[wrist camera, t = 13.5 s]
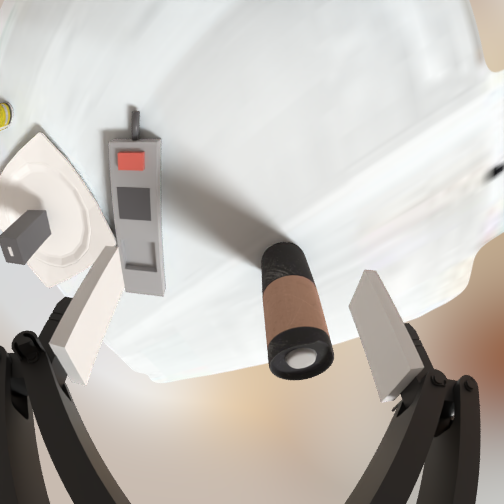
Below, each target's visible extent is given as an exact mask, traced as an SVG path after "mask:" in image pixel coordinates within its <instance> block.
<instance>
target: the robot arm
mask: <svg viewBox="0 0 504 504" xmlns="http://www.w3.org/2000/svg"><path fill="white" fill-rule="evenodd" d="M124 288H125V285H124V280H123V274H122V268H121V262H120V255H119V248H118V247H113V246H105V247H104V249H103V250H102V252H101V253H100V255H99V256H98V258H97V259H96V261H95V262H94V264H93V266H92V267H91V269H90V270H89V272H88V274H87V275H86V277H85V279H84V280H83V282H82V283H81V285H80V287H79V288H78V290H77V292H76V294H75V295H74V297H73V298H69V297H64V298H63V299H62V300H61V301H60V302H58V303H57V305H56V307H55V308H54V310H53V313H52V314H51V315H50V317H49V320H48V321H47V322H46V324H45V326H44V328H43V330H42V331H41V334H40V335H39V337H37V335H36V334H35V333H34V332H32V331H23V332H21V333H19V334H18V335H17V336H16V337H15V338H14V339H13V342H12V350H13V351H14V353H7V352H6V351H5V349H4V348H3V347H2V346H0V504H50V502H49V498H48V495H47V491H46V487H45V483H44V479H43V475H42V471H41V465H40V461H39V455H38V449H37V443H36V436H35V428H34V419H33V412H34V415H35V418H36V420H37V424H38V426H39V429H40V432H41V435H42V437H43V440H44V442H45V445H46V447H47V450H48V452H49V454H50V457H51V459H52V461H53V463H54V466H55V468H56V470H57V472H58V474H59V476H60V478H61V480H62V482H63V484H64V486H65V488H66V490H67V492H68V493H69V495H70V497H71V499H72V501H73V503H74V504H131V503H130V502H129V500H128V499H127V497H126V496H125V494H124V493H123V492H122V490H121V489H120V487H119V486H118V484H117V483H116V481H115V480H114V478H113V476H112V475H111V473H110V471H109V470H108V468H107V466H106V465H105V463H104V461H103V460H102V458H101V456H100V455H99V453H98V451H97V449H96V447H95V445H94V443H93V442H92V440H91V438H90V436H89V434H88V432H87V430H86V428H85V426H84V424H83V421H82V420H81V417H80V415H79V413H78V411H77V408H76V406H75V404H74V402H73V399H72V397H71V395H70V392H69V389H68V387H67V385H66V383H65V380H66V377H67V375H68V377H69V378H70V380H71V382H74V383H78V384H81V385H85V386H86V385H87V382H88V379H89V376H90V373H91V370H92V367H93V365H94V362H95V359H96V357H97V353H98V351H99V349H100V346H101V343H102V341H103V338H104V336H105V333H106V331H107V328H108V326H109V323H110V321H111V318H112V316H113V314H114V311H115V309H116V307H117V304H118V302H119V300H120V297H121V295H122V293H123V291H124ZM349 309H350V311H351V314H352V317H353V320H354V322H355V325H356V328H357V331H358V333H359V336H360V339H361V342H362V345H363V348H364V351H365V354H366V357H367V360H368V363H369V366H370V369H371V372H372V375H373V378H374V381H375V384H376V387H377V391H378V394H379V397H380V401H381V402H387V401H393V400H395V399H396V398H397V397H398V396H399V394H401V397H402V400H401V401H400V402H399V403H398V404H397V405H396V406H395V407H394V408H393V409H392V411H394V410H395V409H396V411H395V414H394V416H393V418H392V420H391V423H390V425H389V427H388V429H387V431H386V433H385V435H384V437H383V439H382V441H381V443H380V445H379V447H378V449H377V451H376V453H375V455H374V456H373V458H372V460H371V462H370V464H369V465H368V467H367V469H366V471H365V472H364V474H363V476H362V477H361V479H360V481H359V482H358V484H357V486H356V487H355V489H354V490H353V492H352V493H351V495H350V496H349V498H348V499H347V501H346V502H345V504H406V503H407V501H408V498H409V497H410V494H411V492H412V490H413V488H414V485H415V483H416V481H417V479H418V477H419V474H420V472H421V469H422V467H423V465H424V470H423V475H422V480H421V485H420V490H419V495H418V499H417V503H416V504H475V501H476V495H477V486H478V477H479V464H480V463H479V462H480V404H479V391H478V385H477V383H476V381H475V380H474V379H473V378H472V377H471V376H468V375H464V376H462V377H461V378H460V379H459V380H458V381H455V380H449V379H447V378H446V376H445V375H444V374H443V373H442V372H441V371H439V370H436V369H434V368H433V366H432V364H431V362H430V360H429V358H428V355H427V353H426V351H425V349H424V347H423V346H422V343H421V341H420V340H419V337H418V335H417V333H416V331H415V330H414V328H413V327H412V326H411V325H410V324H409V323H403V321H402V319H401V317H400V315H399V313H398V311H397V309H396V307H395V305H394V303H393V301H392V299H391V297H390V295H389V293H388V292H387V290H386V288H385V286H384V284H383V282H382V281H381V279H380V277H379V275H378V273H377V272H376V271H373V270H364V272H363V274H362V277H361V279H360V281H359V284H358V286H357V288H356V291H355V293H354V295H353V298H352V300H351V302H350V304H349ZM424 462H425V463H424Z"/></svg>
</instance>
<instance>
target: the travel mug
mask: <svg viewBox="0 0 504 504" xmlns="http://www.w3.org/2000/svg"><path fill="white" fill-rule="evenodd" d="M262 293H263V307H264V318H265V329H266V340H267V350H268V362H269V368H270V370H271V372H272V373H273V374H274V375H276V376H277V377H279V378H282V379H286V380H303V379H308V378H312V377H314V376H317V375H319V374H321V373H323V372H324V371H325V370H327V369H328V368H329V367H330V366H331V364H332V363H333V360H334V352H333V348H332V344H331V340H330V337H329V333H328V329H327V325H326V321H325V317H324V314H323V310H322V306H321V303H320V299H319V295H318V292H317V289H316V286H315V283H314V280H313V277H312V274H311V271H310V269H309V266H308V263H307V260H306V257H305V255H304V253H303V251H302V250H301V249H300V248H299V247H298V246H297V245H295V244H292V243H286V242H283V243H278V244H275V245H273V246H271V247H270V248H268V249H267V250H266V252H265V253H264V255H263V257H262Z"/></svg>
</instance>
